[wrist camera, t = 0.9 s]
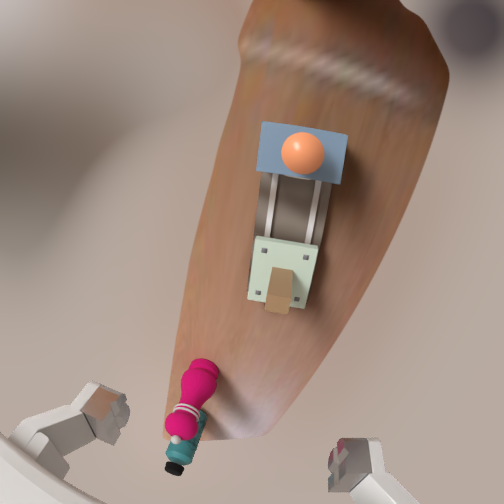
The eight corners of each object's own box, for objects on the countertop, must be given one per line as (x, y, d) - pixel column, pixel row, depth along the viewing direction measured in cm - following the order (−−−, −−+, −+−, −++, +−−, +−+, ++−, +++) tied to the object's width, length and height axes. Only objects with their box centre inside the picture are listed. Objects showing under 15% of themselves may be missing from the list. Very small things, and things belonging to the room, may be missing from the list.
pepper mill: (212, 354, 55) (181, 433, 37) (226, 378, 57) (202, 454, 39) (182, 358, 57) (146, 430, 39) (197, 381, 59) (168, 452, 41)
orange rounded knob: (285, 131, 32) (284, 129, 27) (322, 137, 31) (327, 136, 27) (281, 166, 33) (278, 170, 29) (317, 172, 33) (320, 177, 28)
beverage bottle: (201, 420, 65) (179, 480, 47) (180, 407, 65) (154, 468, 46) (214, 412, 63) (192, 477, 45) (192, 398, 62) (165, 464, 44)
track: (263, 165, 40) (261, 166, 38) (331, 176, 39) (333, 178, 37) (248, 287, 48) (246, 293, 46) (307, 297, 47) (307, 303, 45)
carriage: (256, 235, 42) (245, 261, 33) (317, 245, 41) (322, 274, 32) (248, 294, 46) (237, 329, 37) (304, 303, 45) (304, 341, 36)
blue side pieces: (268, 125, 38) (262, 121, 31) (338, 136, 37) (347, 135, 30) (263, 167, 40) (255, 173, 33) (331, 178, 39) (339, 187, 32)
